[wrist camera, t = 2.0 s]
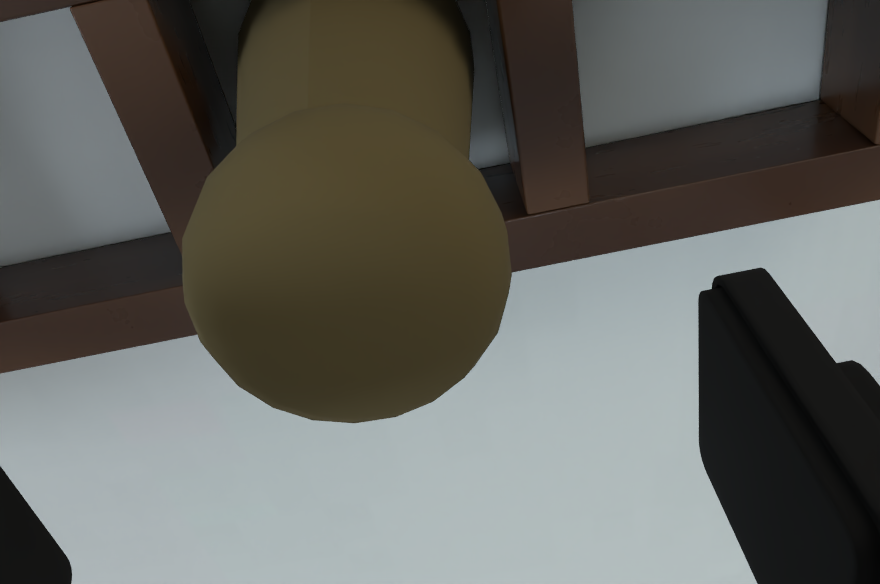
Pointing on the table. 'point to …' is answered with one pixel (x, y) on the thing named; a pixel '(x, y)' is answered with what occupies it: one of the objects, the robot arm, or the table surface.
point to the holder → (512, 185)
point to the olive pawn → (348, 213)
